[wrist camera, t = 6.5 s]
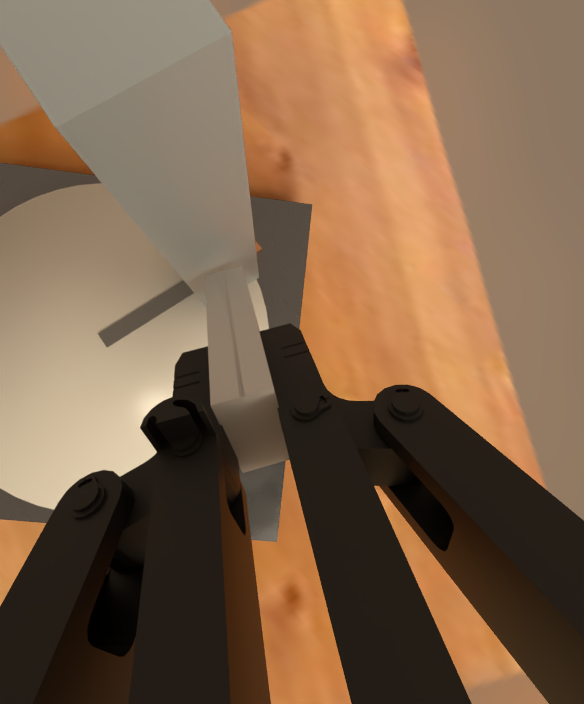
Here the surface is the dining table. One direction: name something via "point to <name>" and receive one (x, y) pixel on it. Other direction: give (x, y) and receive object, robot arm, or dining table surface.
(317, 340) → the dining table surface
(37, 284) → the dial
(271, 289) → the dial housing
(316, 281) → the dining table surface
